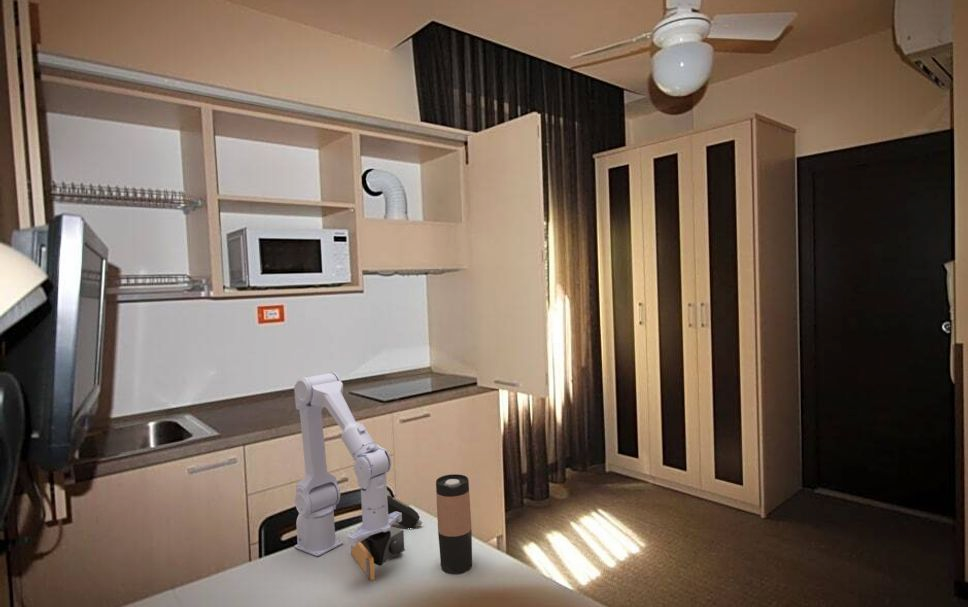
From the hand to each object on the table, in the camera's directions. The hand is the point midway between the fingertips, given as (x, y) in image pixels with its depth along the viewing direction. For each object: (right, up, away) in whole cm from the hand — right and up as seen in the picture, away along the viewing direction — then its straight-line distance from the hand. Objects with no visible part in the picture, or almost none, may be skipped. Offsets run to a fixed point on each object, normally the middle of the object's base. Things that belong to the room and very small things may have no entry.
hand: (378, 564), depth 121 cm
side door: (-5, -2, +4) cm, 7 cm away
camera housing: (-2, -2, +11) cm, 11 cm away
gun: (0, -2, +25) cm, 25 cm away
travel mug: (+18, -2, +2) cm, 18 cm away
